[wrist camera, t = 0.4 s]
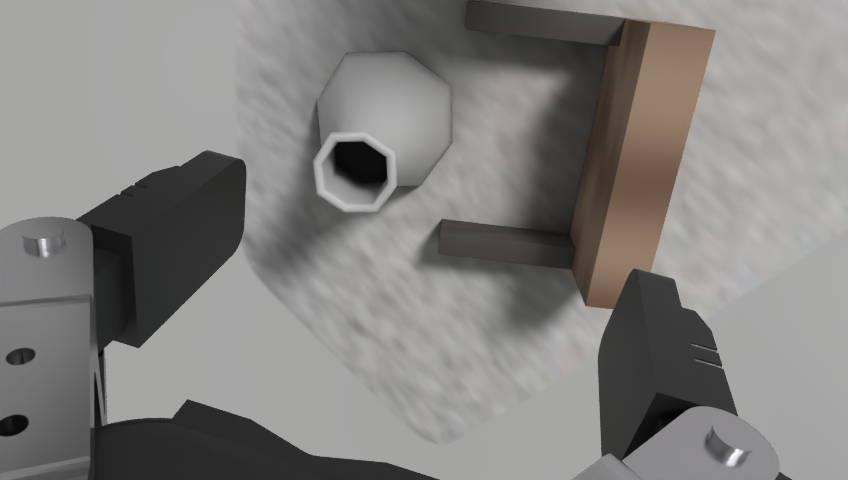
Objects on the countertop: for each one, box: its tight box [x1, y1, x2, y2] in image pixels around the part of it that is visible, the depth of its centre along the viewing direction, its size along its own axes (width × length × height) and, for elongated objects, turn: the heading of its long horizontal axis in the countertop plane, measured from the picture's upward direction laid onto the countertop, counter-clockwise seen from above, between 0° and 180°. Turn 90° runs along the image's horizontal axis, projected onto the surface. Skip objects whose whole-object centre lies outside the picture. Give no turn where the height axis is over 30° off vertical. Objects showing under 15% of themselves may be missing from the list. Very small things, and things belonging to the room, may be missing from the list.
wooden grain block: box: [438, 0, 716, 309], centre depth 29 cm, size 12×10×6 cm
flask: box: [313, 51, 452, 213], centre depth 27 cm, size 7×7×10 cm
